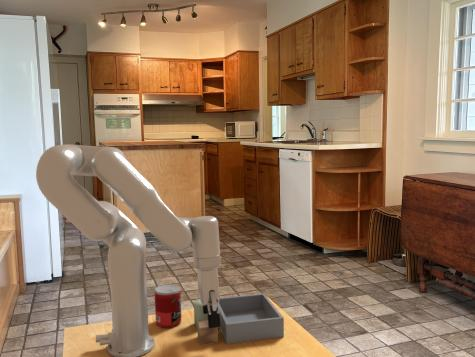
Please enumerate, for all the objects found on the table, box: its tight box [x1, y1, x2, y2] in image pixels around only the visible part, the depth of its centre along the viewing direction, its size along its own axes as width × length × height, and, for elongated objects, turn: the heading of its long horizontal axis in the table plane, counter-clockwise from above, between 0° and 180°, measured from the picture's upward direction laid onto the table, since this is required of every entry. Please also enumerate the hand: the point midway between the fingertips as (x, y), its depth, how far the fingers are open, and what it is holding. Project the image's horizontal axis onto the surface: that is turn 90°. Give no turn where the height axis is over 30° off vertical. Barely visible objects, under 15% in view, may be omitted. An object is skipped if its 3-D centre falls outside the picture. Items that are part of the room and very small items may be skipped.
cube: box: [197, 319, 219, 346], centre depth 123 cm, size 5×5×5 cm
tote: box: [218, 293, 285, 345], centre depth 132 cm, size 17×20×6 cm
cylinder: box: [193, 299, 209, 329], centre depth 133 cm, size 5×5×7 cm
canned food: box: [154, 283, 182, 329], centre depth 134 cm, size 8×8×11 cm
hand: (211, 319), depth 123 cm, fingers open, 9 cm apart
